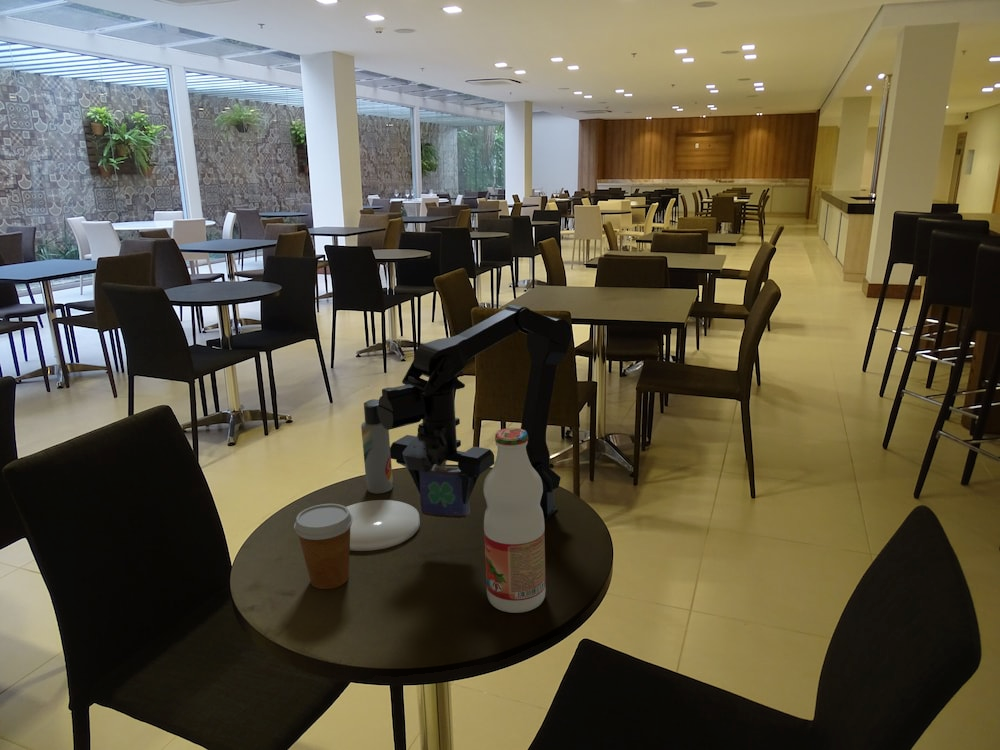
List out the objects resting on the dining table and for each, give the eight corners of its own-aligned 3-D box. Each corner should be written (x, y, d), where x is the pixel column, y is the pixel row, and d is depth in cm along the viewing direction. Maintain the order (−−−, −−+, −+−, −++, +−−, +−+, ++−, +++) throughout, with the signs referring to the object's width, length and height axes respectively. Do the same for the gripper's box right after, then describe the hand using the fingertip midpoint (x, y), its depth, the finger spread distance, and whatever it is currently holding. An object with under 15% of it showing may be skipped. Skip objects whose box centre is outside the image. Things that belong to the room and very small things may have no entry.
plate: (437, 517, 142) (437, 510, 142) (381, 559, 127) (380, 551, 127) (366, 500, 151) (365, 493, 150) (305, 538, 136) (304, 531, 135)
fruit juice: (540, 617, 109) (537, 445, 101) (480, 611, 111) (472, 442, 103) (549, 583, 118) (547, 423, 110) (494, 578, 120) (488, 421, 112)
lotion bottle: (395, 483, 159) (389, 397, 153) (389, 494, 153) (382, 405, 148) (370, 483, 159) (363, 397, 154) (363, 494, 154) (355, 405, 148)
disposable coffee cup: (308, 601, 115) (300, 534, 112) (295, 573, 123) (287, 510, 120) (365, 584, 119) (359, 519, 116) (349, 559, 128) (343, 497, 124)
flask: (471, 512, 129) (468, 457, 126) (467, 520, 127) (463, 464, 124) (424, 508, 132) (419, 454, 129) (418, 515, 129) (413, 460, 126)
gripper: (366, 423, 122) (374, 506, 126) (459, 439, 113) (464, 528, 117) (405, 404, 131) (411, 482, 135) (494, 417, 122) (497, 501, 126)
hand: (443, 498), depth 128 cm, fingers closed on flask, 9 cm apart
